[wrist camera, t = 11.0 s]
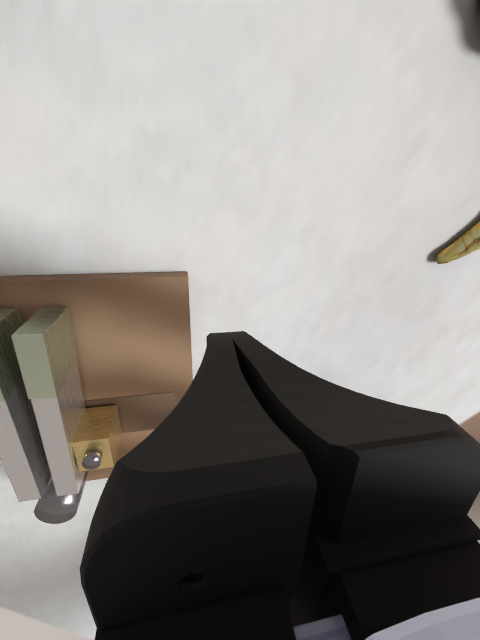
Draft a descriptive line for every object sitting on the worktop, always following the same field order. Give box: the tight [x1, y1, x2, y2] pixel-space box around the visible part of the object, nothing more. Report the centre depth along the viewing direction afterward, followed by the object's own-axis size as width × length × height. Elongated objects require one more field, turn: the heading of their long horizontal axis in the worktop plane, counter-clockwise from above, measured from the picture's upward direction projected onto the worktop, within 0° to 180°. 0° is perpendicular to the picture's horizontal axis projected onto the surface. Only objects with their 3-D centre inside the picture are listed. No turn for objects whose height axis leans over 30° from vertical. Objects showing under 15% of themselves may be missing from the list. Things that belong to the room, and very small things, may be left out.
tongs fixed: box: [0, 307, 89, 524], centre depth 18 cm, size 14×3×4 cm, turn 178°
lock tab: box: [72, 405, 122, 472], centre depth 19 cm, size 2×2×4 cm
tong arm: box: [11, 306, 85, 496], centre depth 17 cm, size 11×1×4 cm, turn 176°
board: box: [0, 272, 193, 481], centre depth 21 cm, size 16×12×1 cm
